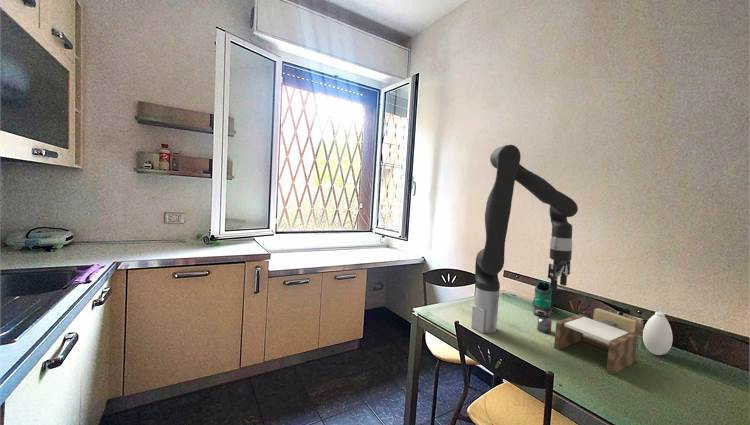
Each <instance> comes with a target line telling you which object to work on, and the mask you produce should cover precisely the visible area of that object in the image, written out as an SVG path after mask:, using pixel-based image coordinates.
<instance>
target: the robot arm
mask: <svg viewBox="0 0 750 425" xmlns="http://www.w3.org/2000/svg"><path fill="white" fill-rule="evenodd" d="M521 158H522V156H521V151H520V149H519V148H518V147H517V146H516V145H515V144H506V145H502V146H500V147H498V148H495V149H494V150H493V151H492V152H491V154H490V157H489V161H490V164H491V166H492V167H493V168H495V169H496V174H495V181H494V182H493V183H494V184H493V186H492V188H491V190H490V192H489V194H488V196H487V200H486V205H485V213H484V226H485V227H484V228H485V235H486V236H485V244H484V248H483V249H481V250H479V252H477V254H476V257H475V266H474V267H475V268H474V270H475V271H474V279H475V293H474V304H473V305H472V311H471V312H472V313H471V325H470V326H471V328H472V329H474V330H476V331H477V332H479V333H481V334H495V333H496V332H497V328H498V327H497V326H498V315H499V300H500V291H501V289H500V288H501V285H500V280H499V274H500V272H501V271H502V270H503V268H504V265H505V251H506V250H505V247H506V246H505V245H506V238H507V235H508V234H507V233H508V227H509V223H510V222H509V221H510V217H511V211H512V210H511V209H512V204H513V197H514V196H513V195H514V191H515V190H514V189H515V188H514V187H515V183H516V182H517V183H518V184H519V185H521V186H523V188H525V189H526V191H528V192H530V193H531V194H532V196H534V197H535V198H536V199H538V200H539V202H542V203H543V204H546V205H549V211H548V212H549V217H550V223H551V226H552V227H551V238H550V243H549V244H550V245H549V259H550V260H552V261H553V263H549V264H548V269H547V270H548V272H547V279H550V288H551V289H552V290H555V291H556V290H557V289H558V279H559V277H560V279H559V285H560V286H563V287H564V286H567V283H568V281H567V280H568V276H569V275H570V274H571V261H572V255H573V254H572V252H573V239H572V238H573V225H572V224H571V223H569V222H568V218H571V217H573V216H575V215H577V213H578V212H579V207H578V204H577V203H576V202H575V200H573V199H572V198H571V197H570V196H568V195H566V194H564V193H563V192H561V191H560V190H558V189H556V188H555V187H554V186H553V185H552V184H550V183H549V182H548V181H547V179H546V180H545V179H544V178H543V177H541V176H540V175H538V174H537V173H535V172H532V171H531V170H529V169H527V168H525V167H524V166H523V165H522V164H520V162H521Z"/></svg>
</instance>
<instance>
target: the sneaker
mask: <svg viewBox="0 0 750 425" xmlns="http://www.w3.org/2000/svg"><path fill="white" fill-rule="evenodd" d="M550 285H551V283H549V282H547V281H544V280H543V281H539V282H538V283H537V284H536V285H535V288H534V297H533V300H532V306H533V308H532V310H533V311H532V312H533V314H534V315H537V316H539V317H546V318H550V317H551V314H552V311H553V310H554V304H553V301H552V291H553V289H551V288H550Z"/></svg>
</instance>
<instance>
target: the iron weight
mask: <svg viewBox="0 0 750 425" xmlns="http://www.w3.org/2000/svg"><path fill="white" fill-rule="evenodd" d="M552 324H553V321H552V319H551V318H550V317H545V316H538V317H537V325H536V327H537V328H536V329H537V332H540V333H542V334H547V335H549V334H552Z"/></svg>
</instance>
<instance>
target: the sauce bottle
mask: <svg viewBox="0 0 750 425" xmlns="http://www.w3.org/2000/svg"><path fill="white" fill-rule="evenodd" d="M642 340H643V341H642V342H643V344H644V346H645V348H646V349H647V350H648V351H649V353H651V354H653V355H655V356H662V355H665V354H667V353H668V352H669V351H670V349H671V347H672V345H673V340H674V337H673V331H672V328H671V325H670V323H669V320H668V319H667V317H666V314H665V313H663V312H662V306H660V307H659V311H656V312H654V314H653V315H651V316H650V318H648V320H647V321H646V323H645V325H644V327H643V331H642Z"/></svg>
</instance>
